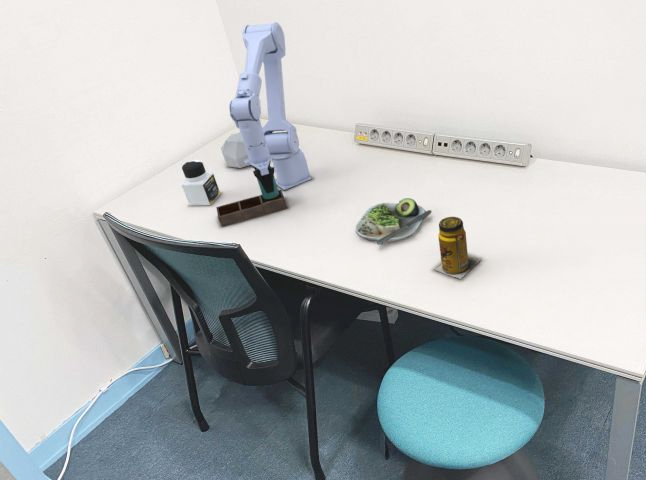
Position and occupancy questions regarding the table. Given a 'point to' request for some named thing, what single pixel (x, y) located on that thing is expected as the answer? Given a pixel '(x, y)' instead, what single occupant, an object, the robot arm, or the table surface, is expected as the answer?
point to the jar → (272, 194)
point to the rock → (235, 151)
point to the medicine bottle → (199, 184)
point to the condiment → (454, 248)
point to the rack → (249, 208)
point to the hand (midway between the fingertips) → (268, 188)
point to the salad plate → (391, 221)
